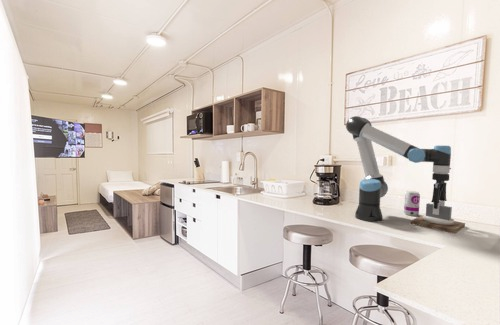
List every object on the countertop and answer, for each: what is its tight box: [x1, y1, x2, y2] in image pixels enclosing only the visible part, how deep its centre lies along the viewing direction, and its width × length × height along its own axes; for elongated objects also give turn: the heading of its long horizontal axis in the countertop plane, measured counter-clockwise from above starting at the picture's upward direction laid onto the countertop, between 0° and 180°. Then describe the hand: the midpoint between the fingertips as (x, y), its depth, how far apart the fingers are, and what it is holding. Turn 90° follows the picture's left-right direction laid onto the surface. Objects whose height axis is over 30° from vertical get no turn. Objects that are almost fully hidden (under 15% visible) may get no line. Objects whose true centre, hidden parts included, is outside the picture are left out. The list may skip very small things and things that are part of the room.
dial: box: [422, 202, 455, 225], centre depth 141 cm, size 14×14×9 cm
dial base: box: [410, 215, 466, 234], centre depth 141 cm, size 20×20×2 cm
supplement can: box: [403, 190, 421, 217], centre depth 164 cm, size 8×8×15 cm
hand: (438, 213), depth 141 cm, fingers open, 9 cm apart
